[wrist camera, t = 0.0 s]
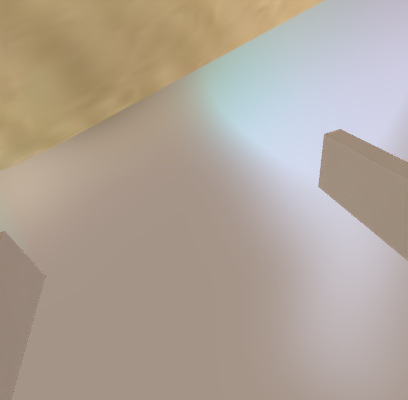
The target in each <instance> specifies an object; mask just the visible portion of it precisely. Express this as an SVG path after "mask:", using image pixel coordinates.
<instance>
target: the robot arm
mask: <svg viewBox="0 0 408 400" xmlns="http://www.w3.org/2000/svg"><path fill="white" fill-rule="evenodd" d="M319 187H320V188H321V189H322V190H323V191H324V192H325V193H327V194H328V195H329V196H330V197H331V198H333V199H334V200H335V201H336V202H338V203H339V204H340V205H341V206H342V207H344V208H345V209H346V210H347V211H348V212H350V213H351V214H352V215H353V216H354V217H356V218H357V219H358V220H359V221H360V222H362V223H363V224H364V225H365V226H367V227H368V228H369V229H370V230H371V231H372V232H374V233H375V234H376V235H377V236H378V237H380V238H381V239H382V240H383V241H385V242H386V243H387V244H388V245H389V246H391V247H392V248H393V249H394V250H395V251H397V252H398V253H399V254H400V255H401V256H403V257H404V258H405V259H406V260H407V261H408V162H406V161H404V160H402V159H400V158H398V157H396V156H393V155H392V154H390V153H388V152H386V151H384V150H382V149H380V148H378V147H375V146H373V145H371V144H369V143H367V142H365V141H363V140H361V139H359V138H357V137H355V136H353V135H351V134H349V133H347V132H345V131H343V130H341V129H340V130H336V131H333V132H330V133H326V134H324V141H323V150H322V159H321V169H320V178H319ZM45 277H46V276H45V275H44V274H43V273H42V271H41V270H40V269H39V268H38V267H37V266H36V265H35V264H34V263H33V261H31V259H30V258H29V257H28V256H27V255H26V254H25V253H24V252H23V250H22V249H21V248H20V247H19V246H18V245H17V244H16V243H15V242H14V241H13V239H12V238H11V237H10V236H9V235H8V234H7V233H6V232H5V231H3V232H0V400H11V399H12V396H13V392H14V389H15V385H16V381H17V377H18V374H19V370H20V367H21V363H22V360H23V356H24V352H25V349H26V345H27V342H28V338H29V334H30V331H31V327H32V324H33V320H34V316H35V313H36V309H37V305H38V302H39V298H40V295H41V291H42V287H43V284H44V280H45Z"/></svg>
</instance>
